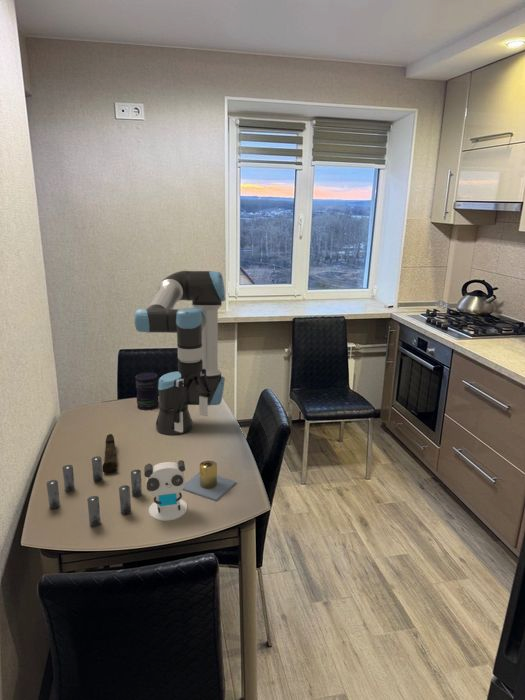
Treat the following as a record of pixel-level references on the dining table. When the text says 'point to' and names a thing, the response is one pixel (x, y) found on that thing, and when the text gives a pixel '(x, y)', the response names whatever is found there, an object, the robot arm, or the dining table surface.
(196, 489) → the slate board
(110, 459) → the hand tool
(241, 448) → the dining table surface
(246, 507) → the dining table surface
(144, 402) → the storage jar
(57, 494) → the spacer posts
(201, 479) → the gold metal cylinder
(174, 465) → the panda figurine
